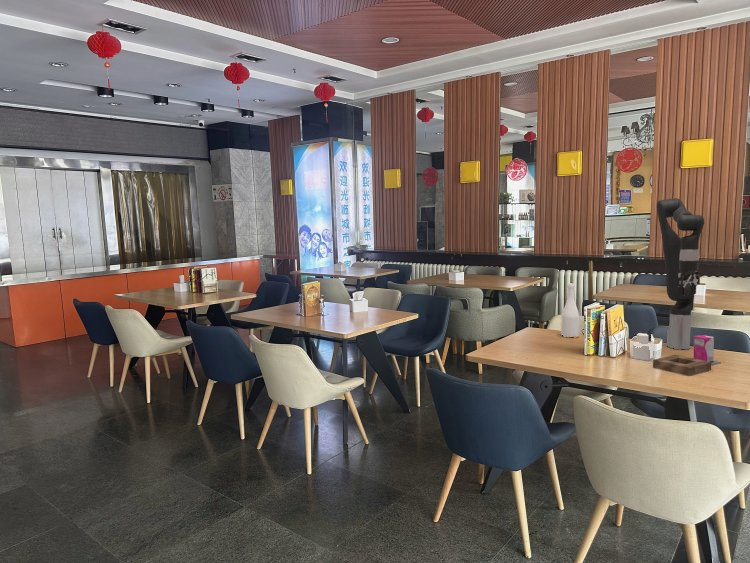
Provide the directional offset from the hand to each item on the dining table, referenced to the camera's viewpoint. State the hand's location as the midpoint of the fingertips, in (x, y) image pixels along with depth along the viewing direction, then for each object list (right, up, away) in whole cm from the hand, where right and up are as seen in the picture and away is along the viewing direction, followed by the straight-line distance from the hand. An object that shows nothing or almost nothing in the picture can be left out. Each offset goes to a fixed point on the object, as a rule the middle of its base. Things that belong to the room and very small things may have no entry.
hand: (687, 294), depth 243 cm
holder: (-9, -32, -12) cm, 35 cm away
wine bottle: (-32, -25, +58) cm, 71 cm away
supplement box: (+6, -30, -2) cm, 31 cm away
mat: (+6, -30, -2) cm, 31 cm away
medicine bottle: (-16, -30, +7) cm, 35 cm away
